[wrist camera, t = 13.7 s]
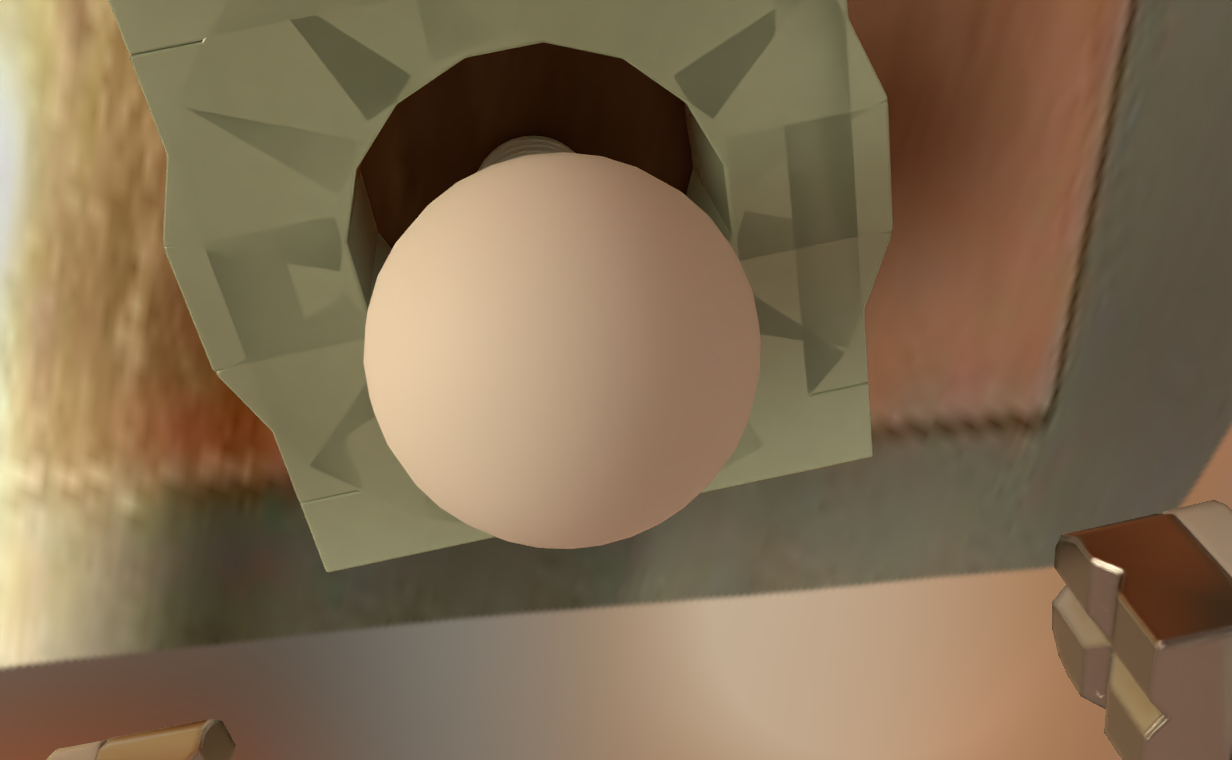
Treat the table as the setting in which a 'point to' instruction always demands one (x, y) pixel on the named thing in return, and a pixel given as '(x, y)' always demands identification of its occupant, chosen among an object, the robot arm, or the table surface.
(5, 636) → the table surface
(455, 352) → the lightbulb
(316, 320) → the square stone ashtray
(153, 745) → the robot arm
